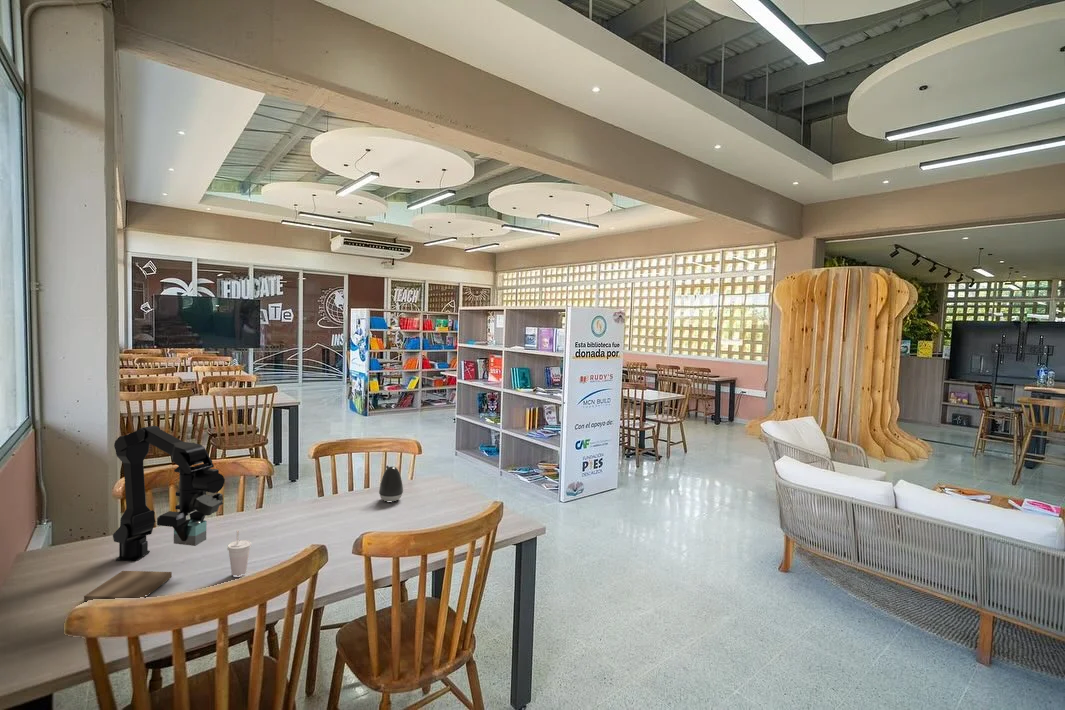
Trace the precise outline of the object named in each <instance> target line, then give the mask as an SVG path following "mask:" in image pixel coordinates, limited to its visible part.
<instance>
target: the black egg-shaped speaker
mask: <svg viewBox="0 0 1065 710" xmlns="http://www.w3.org/2000/svg"><path fill="white" fill-rule="evenodd" d="M385 468H386V470H385V471H384V472H383V475H382V477H381V480H380V484H379V487H378V488H379V489H378V494H379V496H380V499H381V500H382V501H383V500H384V501H383V502H385V501H396V500H398V501H399V500H400V499H401V498H402V496H403V494H404V485H403V480H402V476H401V473H400V470H398V468H397V467H396V466H393V465H392V466H389V465H386V466H385ZM396 502H397V501H396Z"/></svg>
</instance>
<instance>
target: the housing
mask: <svg viewBox="0 0 1065 710" xmlns="http://www.w3.org/2000/svg"><path fill="white" fill-rule="evenodd" d="M188 520H192V521H191V522H190V523H189V524H188V529H187V538H186V541H182V540H181V539H180V537H179V536H178V534H177V532H176V531H175V529H174V528H173V544H175V545H182V546H183V545H184V546H192V547H193V546H194V547H196V546H198V545H199V544H201V543H203V542H205V541H207V525H208V524H207V520H205V519H204V520H195V519H190V518H188Z"/></svg>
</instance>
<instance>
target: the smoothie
mask: <svg viewBox="0 0 1065 710" xmlns="http://www.w3.org/2000/svg"><path fill="white" fill-rule="evenodd" d="M239 531H240V530H236V540H235V541H231V542H230V543H228V545H227V548H226V549H227V551H228V555H229V556H228V557H229V563H230V564H229V565H230V570H231V572H230V573H231V576H232V575H237V576H239V575H241V574H245V573H246V574H247V569H248V562H249V557H250V550H251V549H250V548H251V547H252V542H251V541H250V540H248V539H239V538H240V537H239V535H240V532H239ZM245 576H246V575H242V576H240V578H243V577H245Z"/></svg>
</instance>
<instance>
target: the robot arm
mask: <svg viewBox="0 0 1065 710" xmlns="http://www.w3.org/2000/svg"><path fill="white" fill-rule="evenodd" d="M150 445H152V446H153V447H155V448H157V449H159V450H161V451H163V452H164V453H166V454H168V455H169V456H170V457H171V461H172V462H173V463H174V464H176V465H177V467H176V468H175V469H174V473H178V474H179V477H178V478H179V481H178V482H179V487H178V488H179V489H178V491H176V492H175V497H178V504H177V505H175V507H174V508H175V510H179V511H173V510H172V511H166V512H165V513H162V514H160V515H159V516H158V517H156V519H155V510H154V509H150V508H149V507H148V505H147V501H146V500H147V499H146V486H145V485H146V483H145V467H144V462H145V458H146V457H147V455H148V454H149V451H150ZM114 450H115V455H116V457H117V458H118V459H119V460H120V461H121V463H122V464H123V475H124V490H125V492H124V494H125V505H126V506H125V510H124V512H123V514H122V515H121V517H120V522H119V527H118V528H117V529H116V530H115V531H114V533H113V534H112V539H113V542H114V543H118V545H119V550H118V551H119V553H118V555H119V556H118V557H116V558H115V561H120V562H121V561H122V562H123V561H125V562H137V561H139V560H140V559H141V558H143V557H144V556H146V555H148V554H150V553H151V551H150V550H148V546H149V545H148V544H149V543H148V540H147V536H149V535H151V534H152V533H153V529H154V527H155V523H156V525H157V526H162V527H170V528H171V527H172V529H173V530H174V529H175V531H176V532H177V534H178V536H179V537H180V539H181V540H182V541H186V538H187V529H188V524H189V523H190V522H191V521H192V520H188V519H195V520H205V519H206V518H205V517H206V516H207V517H208V516H211V515H212V514H214V513H217V512H218V511H219V509H220V507H221V506H222V505H223V504H224V502H223V501H224V495H223V494H222V493H221V490H222V489H223V487H224V485H225V481H226V479H225V478H224V475H222V473H219V472H220V471H219V469H217V468H215V465H214V463H213V460H212V458H211V457H210V455H209V453H208V451H207V449H206V448H205V446H203V444H199V443H196V442H187V441H183V440H181V439H180V438H178V437H175V436H174V435H172V434H171V433H168V432H166V431H164V430H162V429H161V427H159V426H157V425H149V426H145V427H140V428H139V429H137V430H135V431H133V432H130V433H128V434H126V435H121V436H118V437H117V439H115V441H114ZM207 493H211V495H207ZM212 494H214V495H212Z"/></svg>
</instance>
